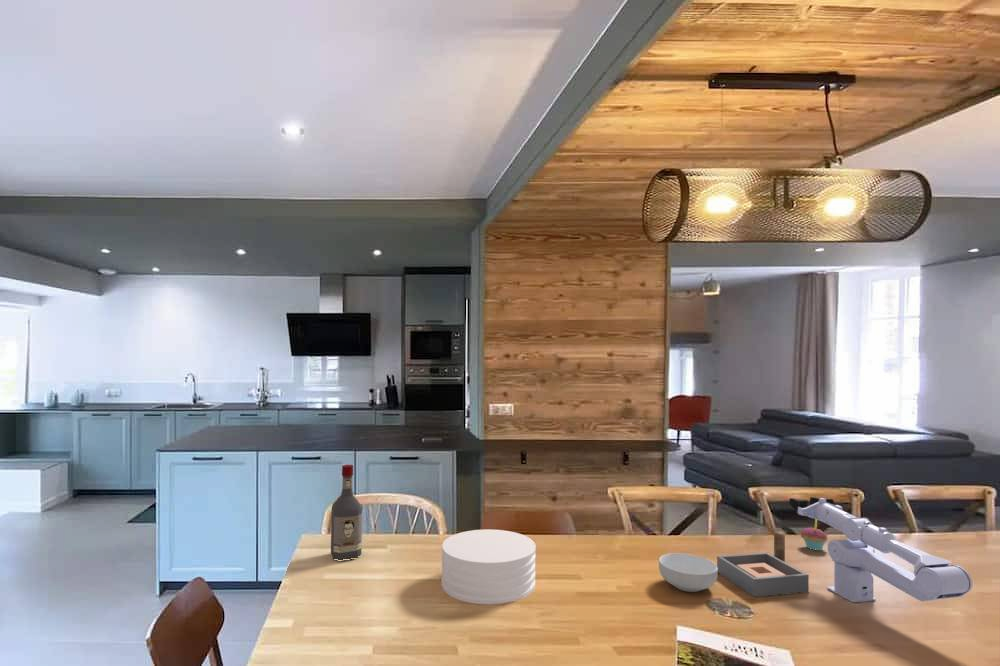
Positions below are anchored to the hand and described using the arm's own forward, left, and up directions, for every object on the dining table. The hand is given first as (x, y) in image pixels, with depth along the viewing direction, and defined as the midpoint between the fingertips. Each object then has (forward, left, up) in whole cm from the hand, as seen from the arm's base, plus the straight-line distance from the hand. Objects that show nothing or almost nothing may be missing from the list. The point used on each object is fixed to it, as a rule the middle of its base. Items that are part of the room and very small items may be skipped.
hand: (800, 500), depth 181 cm
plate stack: (+7, +102, -22) cm, 105 cm away
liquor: (+36, +145, -22) cm, 151 cm away
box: (-7, +20, -22) cm, 30 cm away
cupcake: (+15, -18, -22) cm, 32 cm away
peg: (+5, +4, -22) cm, 23 cm away
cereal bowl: (-6, +44, -22) cm, 50 cm away
